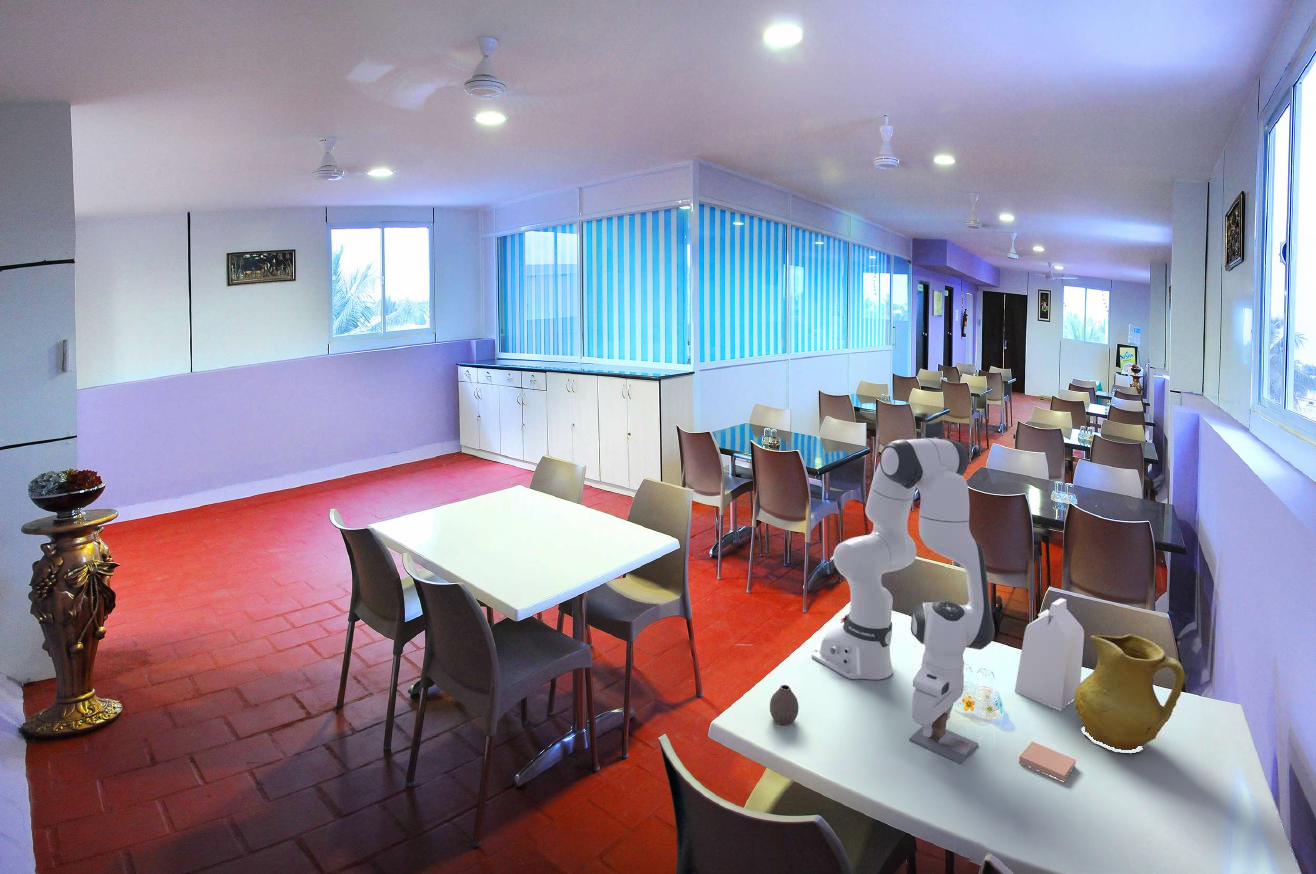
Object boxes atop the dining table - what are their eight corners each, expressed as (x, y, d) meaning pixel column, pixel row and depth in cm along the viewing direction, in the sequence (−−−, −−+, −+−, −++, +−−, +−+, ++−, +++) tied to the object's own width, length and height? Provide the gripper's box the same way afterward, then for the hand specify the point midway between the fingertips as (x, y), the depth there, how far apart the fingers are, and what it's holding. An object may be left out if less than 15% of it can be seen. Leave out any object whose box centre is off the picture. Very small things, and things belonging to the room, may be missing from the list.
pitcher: (1097, 709, 175) (1114, 619, 169) (1177, 754, 159) (1199, 657, 153) (1053, 726, 168) (1068, 633, 162) (1131, 776, 152) (1152, 675, 146)
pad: (909, 740, 161) (909, 738, 161) (927, 723, 168) (927, 721, 168) (961, 764, 153) (961, 762, 153) (978, 745, 160) (978, 743, 160)
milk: (1061, 711, 175) (1074, 615, 170) (1014, 691, 183) (1025, 599, 179) (1079, 695, 182) (1092, 603, 178) (1034, 677, 191) (1045, 589, 186)
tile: (1019, 756, 153) (1064, 775, 147) (1032, 741, 159) (1075, 759, 153) (1018, 764, 154) (1063, 784, 147) (1031, 749, 159) (1074, 768, 153)
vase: (783, 732, 163) (785, 698, 162) (763, 718, 169) (764, 685, 167) (803, 722, 167) (805, 689, 166) (782, 709, 173) (784, 677, 171)
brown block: (925, 737, 161) (928, 714, 160) (933, 730, 164) (935, 707, 163) (964, 755, 155) (967, 731, 154) (971, 747, 158) (974, 724, 157)
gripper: (946, 652, 168) (941, 704, 171) (909, 682, 154) (903, 738, 157) (973, 662, 164) (967, 715, 166) (936, 693, 150) (931, 751, 152)
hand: (936, 726), depth 161 cm, fingers open, 8 cm apart
